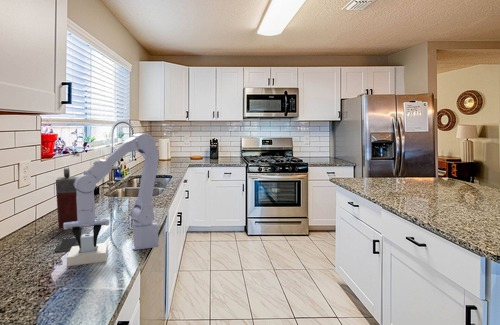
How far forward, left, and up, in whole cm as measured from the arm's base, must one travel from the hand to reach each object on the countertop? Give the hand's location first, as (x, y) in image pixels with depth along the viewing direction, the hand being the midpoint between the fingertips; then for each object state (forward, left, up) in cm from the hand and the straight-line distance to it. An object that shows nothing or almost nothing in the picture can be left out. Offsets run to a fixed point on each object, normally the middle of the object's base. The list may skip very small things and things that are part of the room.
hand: (88, 246), depth 121 cm
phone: (+9, -18, -5) cm, 21 cm away
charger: (0, 0, -2) cm, 2 cm away
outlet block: (0, 0, -4) cm, 4 cm away
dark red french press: (+12, -51, -4) cm, 53 cm away
